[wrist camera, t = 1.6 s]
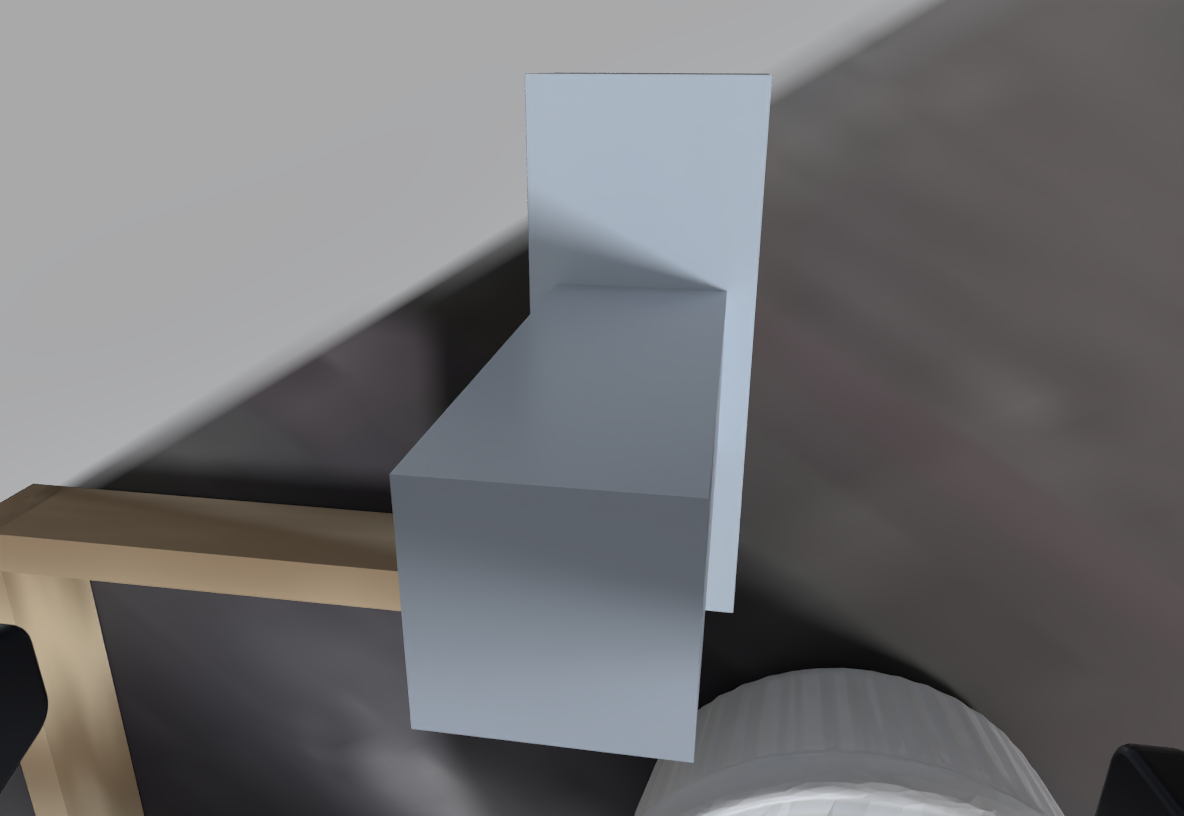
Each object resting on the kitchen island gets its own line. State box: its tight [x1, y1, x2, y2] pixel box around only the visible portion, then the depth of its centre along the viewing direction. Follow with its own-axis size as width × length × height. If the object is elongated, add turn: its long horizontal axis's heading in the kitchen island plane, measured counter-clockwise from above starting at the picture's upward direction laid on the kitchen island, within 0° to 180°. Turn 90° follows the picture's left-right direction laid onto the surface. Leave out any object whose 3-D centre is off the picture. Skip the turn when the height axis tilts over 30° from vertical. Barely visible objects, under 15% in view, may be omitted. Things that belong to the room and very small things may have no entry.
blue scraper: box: [389, 73, 772, 763], centre depth 14 cm, size 4×10×11 cm, turn 0°
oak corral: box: [0, 484, 401, 816], centre depth 23 cm, size 15×14×2 cm
